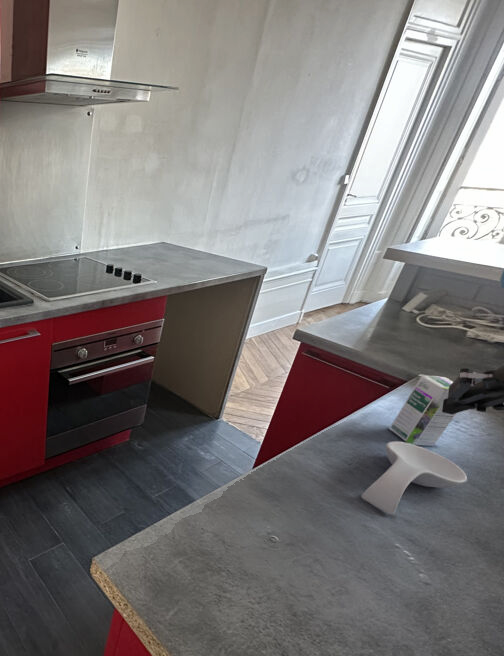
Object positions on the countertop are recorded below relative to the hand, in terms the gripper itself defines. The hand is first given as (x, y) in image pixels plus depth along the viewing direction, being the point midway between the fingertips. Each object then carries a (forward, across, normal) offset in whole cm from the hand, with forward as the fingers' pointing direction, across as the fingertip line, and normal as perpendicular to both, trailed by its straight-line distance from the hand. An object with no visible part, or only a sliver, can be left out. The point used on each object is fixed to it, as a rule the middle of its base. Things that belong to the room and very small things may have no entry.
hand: (447, 407), depth 82 cm
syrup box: (+12, 0, -5) cm, 13 cm away
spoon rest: (-2, -6, -19) cm, 20 cm away
